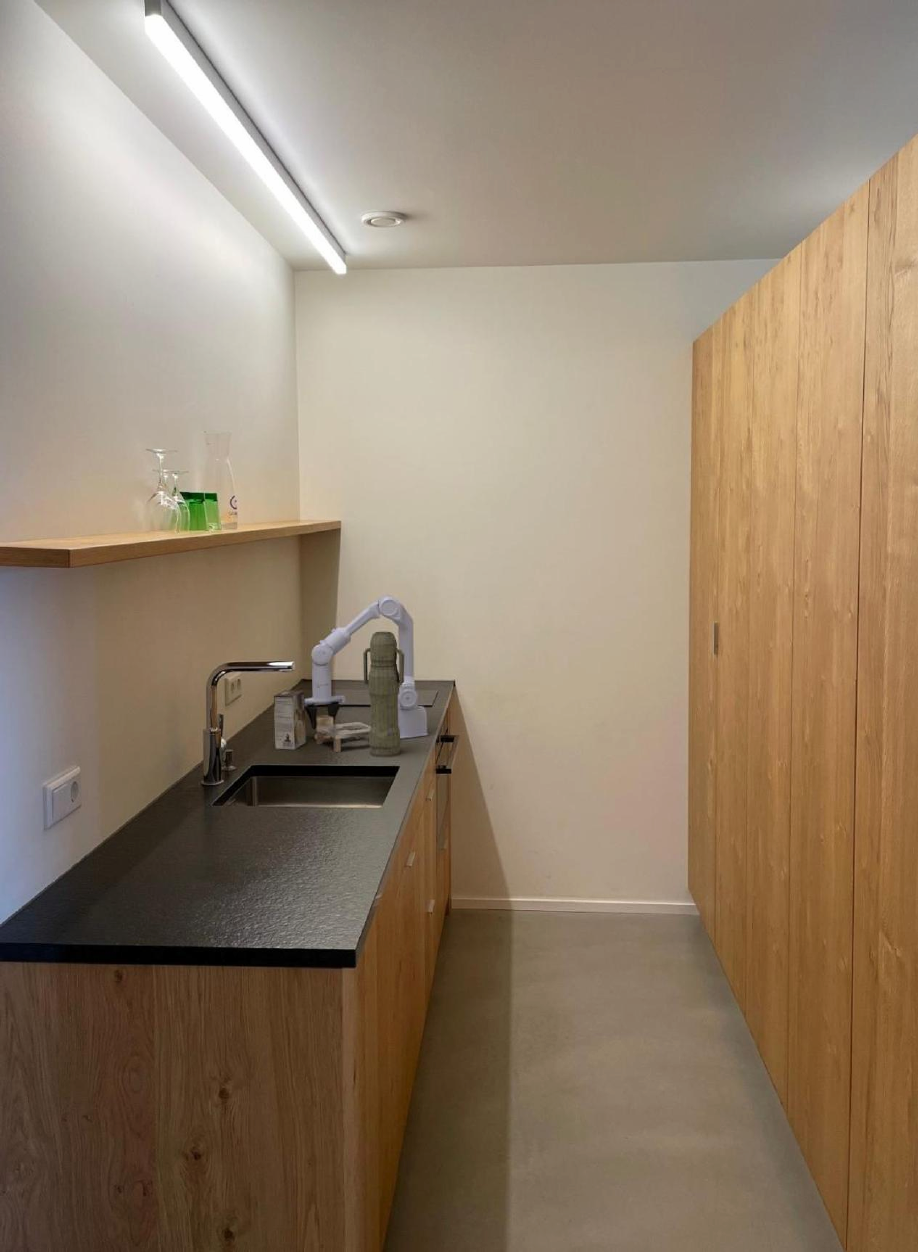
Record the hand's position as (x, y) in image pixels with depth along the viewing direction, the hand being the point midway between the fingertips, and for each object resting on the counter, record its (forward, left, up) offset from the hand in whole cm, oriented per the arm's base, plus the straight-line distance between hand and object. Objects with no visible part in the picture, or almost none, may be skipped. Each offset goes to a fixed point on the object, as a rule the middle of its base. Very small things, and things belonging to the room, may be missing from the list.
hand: (322, 727), depth 296 cm
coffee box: (+12, +4, -4) cm, 13 cm away
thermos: (-8, +27, -4) cm, 28 cm away
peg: (0, 0, -3) cm, 3 cm away
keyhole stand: (-3, +12, -3) cm, 13 cm away
